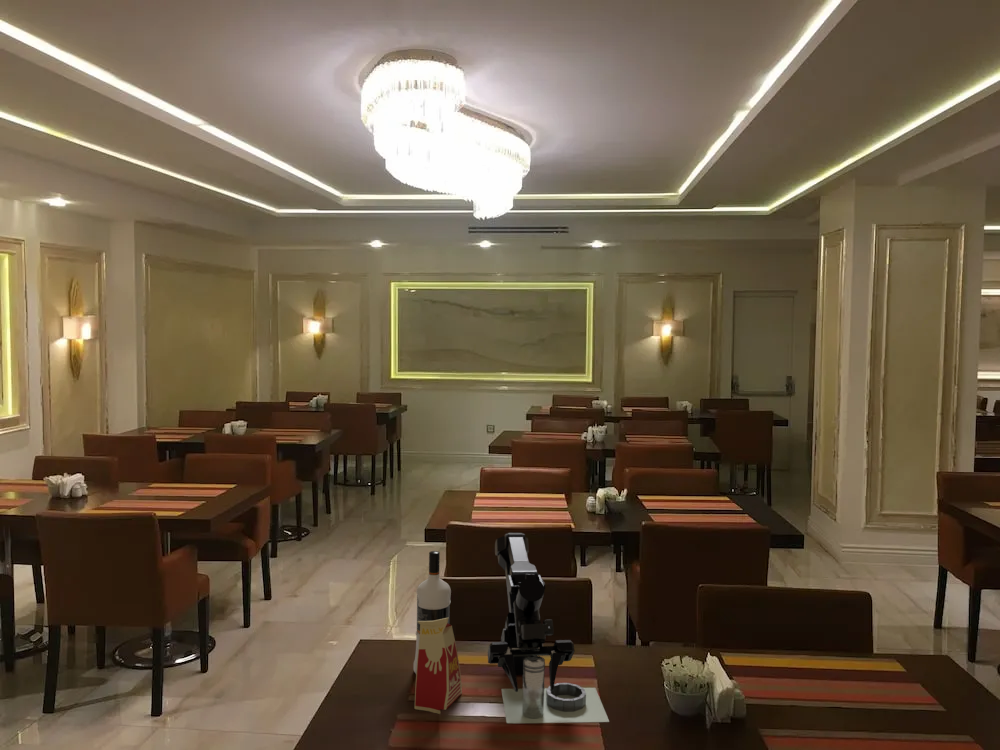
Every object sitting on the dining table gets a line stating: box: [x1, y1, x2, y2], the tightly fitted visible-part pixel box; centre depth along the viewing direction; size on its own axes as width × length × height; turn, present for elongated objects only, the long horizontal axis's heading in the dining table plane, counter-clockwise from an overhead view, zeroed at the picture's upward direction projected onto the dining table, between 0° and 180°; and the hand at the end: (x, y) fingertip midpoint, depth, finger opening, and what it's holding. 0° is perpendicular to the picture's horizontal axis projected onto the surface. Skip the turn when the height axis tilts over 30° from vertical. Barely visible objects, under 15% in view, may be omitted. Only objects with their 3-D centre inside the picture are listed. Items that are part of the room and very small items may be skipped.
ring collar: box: [546, 682, 586, 712], centre depth 180 cm, size 9×9×2 cm
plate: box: [500, 687, 610, 725], centre depth 179 cm, size 22×16×1 cm
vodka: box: [412, 550, 452, 674], centre depth 196 cm, size 9×9×30 cm
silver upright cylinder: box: [522, 655, 546, 719], centre depth 174 cm, size 5×5×12 cm
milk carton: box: [414, 616, 463, 715], centre depth 181 cm, size 9×9×20 cm
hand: (534, 690), depth 173 cm, fingers open, 7 cm apart
